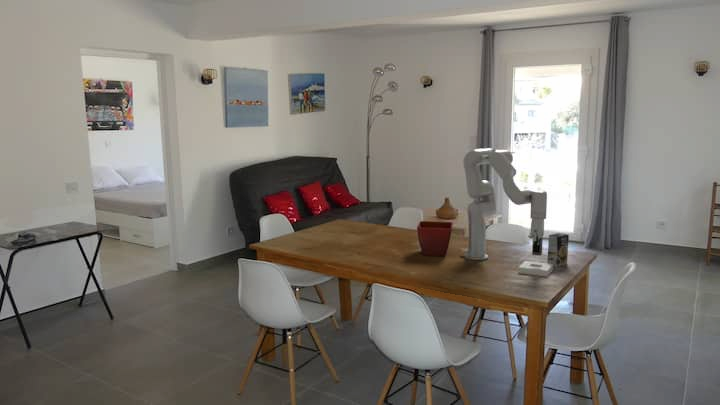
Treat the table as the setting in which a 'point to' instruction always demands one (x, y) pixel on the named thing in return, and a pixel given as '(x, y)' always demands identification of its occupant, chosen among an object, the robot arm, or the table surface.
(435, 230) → the plant pot
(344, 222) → the table surface
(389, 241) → the table surface
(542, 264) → the outlet
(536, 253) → the dark grey rectangular block
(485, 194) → the robot arm
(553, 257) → the coffee box
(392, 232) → the table surface
